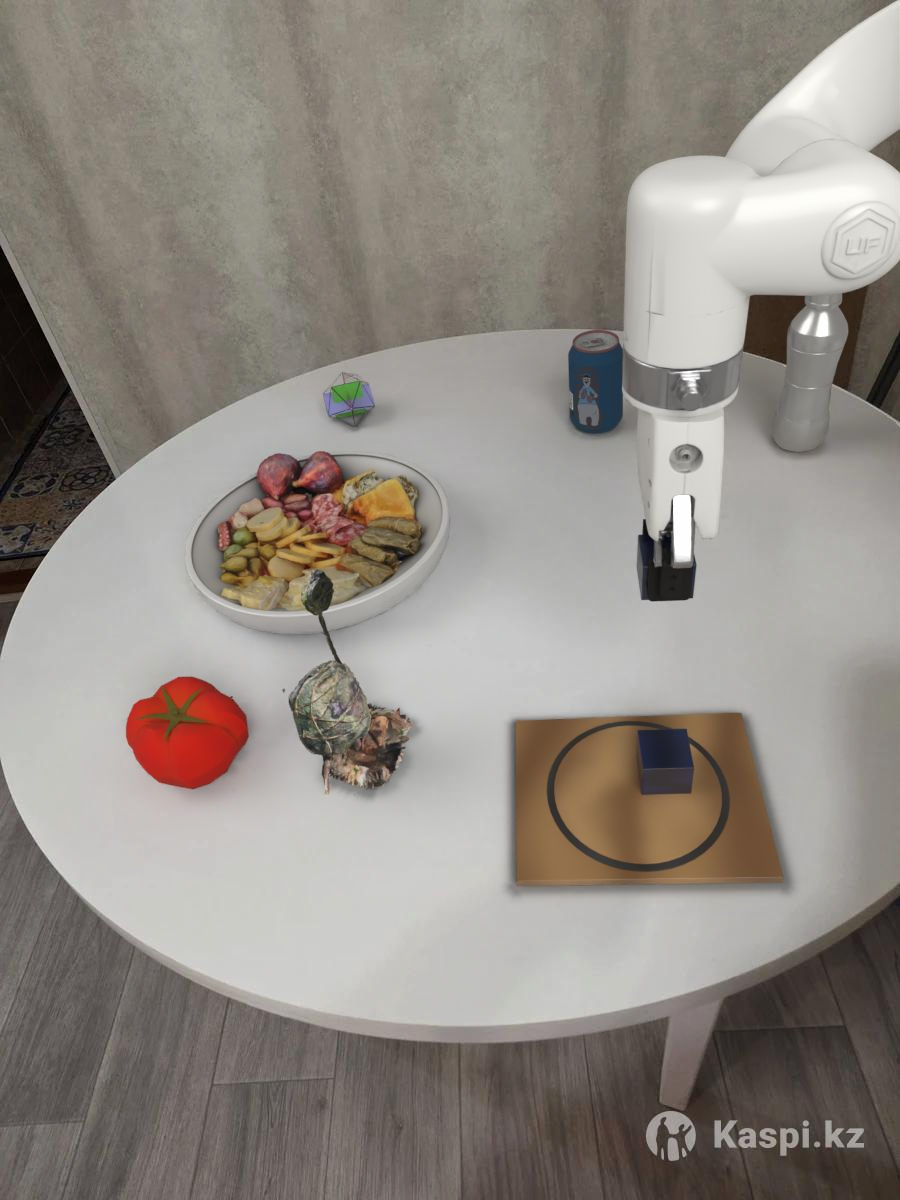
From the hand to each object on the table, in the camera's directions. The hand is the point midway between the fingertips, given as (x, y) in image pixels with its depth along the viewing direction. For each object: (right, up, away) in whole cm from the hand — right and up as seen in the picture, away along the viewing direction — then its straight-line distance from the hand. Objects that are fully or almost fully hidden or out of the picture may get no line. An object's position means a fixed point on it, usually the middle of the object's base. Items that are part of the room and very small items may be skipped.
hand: (664, 576), depth 69 cm
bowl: (-32, +3, +32) cm, 45 cm away
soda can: (+2, +21, +47) cm, 52 cm away
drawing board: (-1, -18, +3) cm, 19 cm away
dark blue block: (0, -1, 0) cm, 1 cm away
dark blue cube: (+1, -17, +4) cm, 17 cm away
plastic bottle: (+26, +17, +38) cm, 49 cm away
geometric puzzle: (-31, +24, +55) cm, 68 cm away
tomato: (-41, -17, +13) cm, 46 cm away
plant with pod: (-25, -16, +10) cm, 32 cm away
